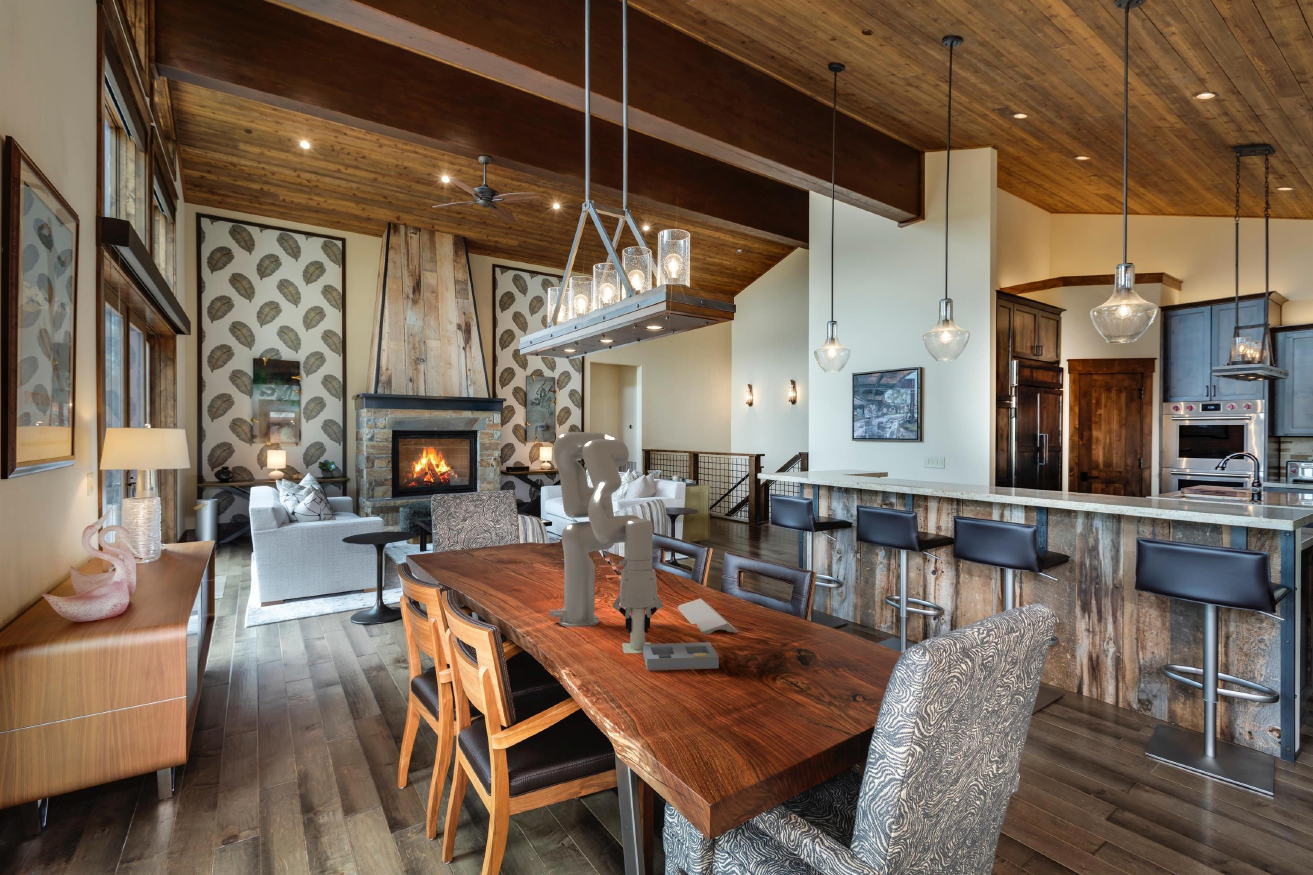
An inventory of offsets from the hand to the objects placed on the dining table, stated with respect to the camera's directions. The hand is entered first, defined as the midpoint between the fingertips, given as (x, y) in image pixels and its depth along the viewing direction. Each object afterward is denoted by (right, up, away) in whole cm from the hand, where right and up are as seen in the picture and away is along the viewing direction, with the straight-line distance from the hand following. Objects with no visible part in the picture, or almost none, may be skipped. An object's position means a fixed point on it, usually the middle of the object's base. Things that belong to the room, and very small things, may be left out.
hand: (637, 630), depth 171 cm
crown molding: (+21, -7, +31) cm, 38 cm away
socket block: (+11, -6, -10) cm, 16 cm away
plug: (0, -5, 0) cm, 5 cm away
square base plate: (0, -6, 0) cm, 6 cm away
